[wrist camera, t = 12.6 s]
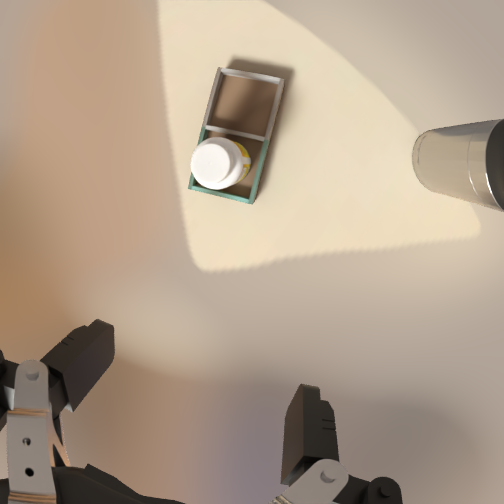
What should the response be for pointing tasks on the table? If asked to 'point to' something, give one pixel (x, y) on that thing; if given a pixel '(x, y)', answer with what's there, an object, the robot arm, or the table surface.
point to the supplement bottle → (220, 163)
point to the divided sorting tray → (242, 123)
